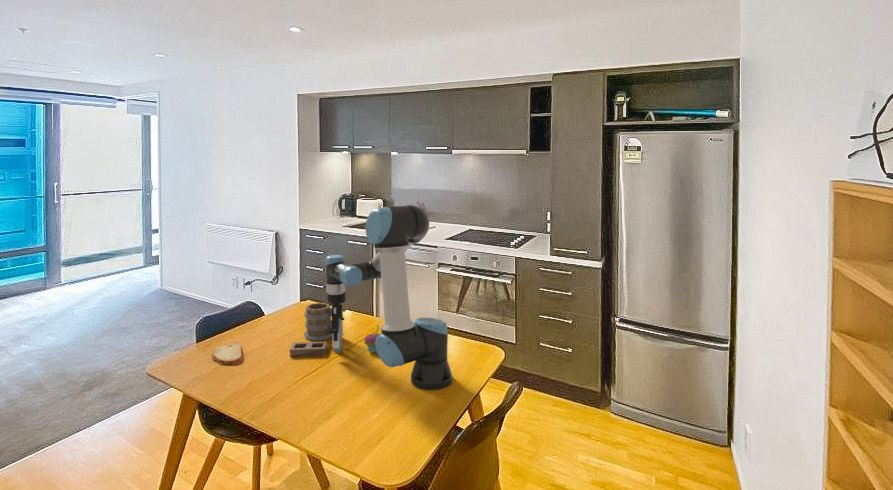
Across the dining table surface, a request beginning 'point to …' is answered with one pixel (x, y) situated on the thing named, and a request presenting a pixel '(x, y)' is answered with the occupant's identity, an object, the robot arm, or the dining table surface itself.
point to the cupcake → (372, 340)
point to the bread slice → (228, 353)
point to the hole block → (308, 349)
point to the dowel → (338, 350)
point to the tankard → (318, 321)
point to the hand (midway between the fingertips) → (338, 341)
